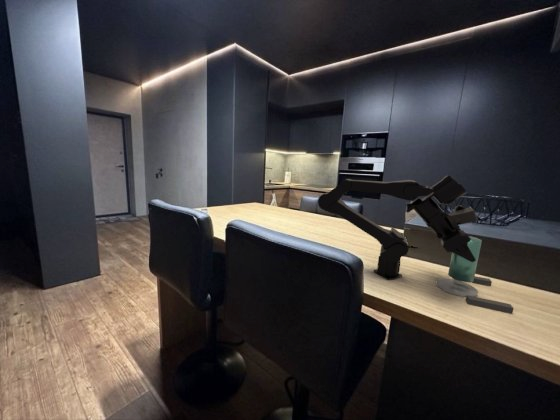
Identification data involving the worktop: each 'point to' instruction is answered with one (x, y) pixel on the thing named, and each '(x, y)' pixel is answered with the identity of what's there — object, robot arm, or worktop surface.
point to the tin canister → (465, 263)
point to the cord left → (482, 281)
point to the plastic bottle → (411, 214)
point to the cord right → (489, 304)
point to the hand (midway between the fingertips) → (470, 257)
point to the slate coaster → (456, 287)
